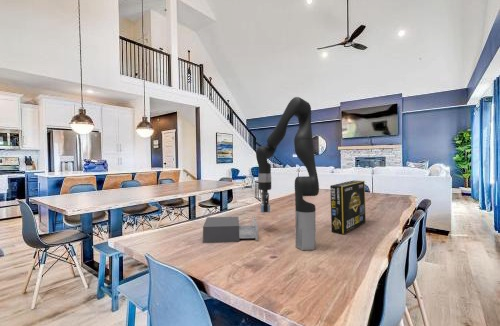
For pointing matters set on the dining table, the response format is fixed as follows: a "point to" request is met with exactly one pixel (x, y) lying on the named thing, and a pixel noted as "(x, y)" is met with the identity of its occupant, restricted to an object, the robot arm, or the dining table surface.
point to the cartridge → (263, 208)
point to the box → (347, 206)
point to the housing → (221, 229)
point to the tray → (249, 230)
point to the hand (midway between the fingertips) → (264, 211)
